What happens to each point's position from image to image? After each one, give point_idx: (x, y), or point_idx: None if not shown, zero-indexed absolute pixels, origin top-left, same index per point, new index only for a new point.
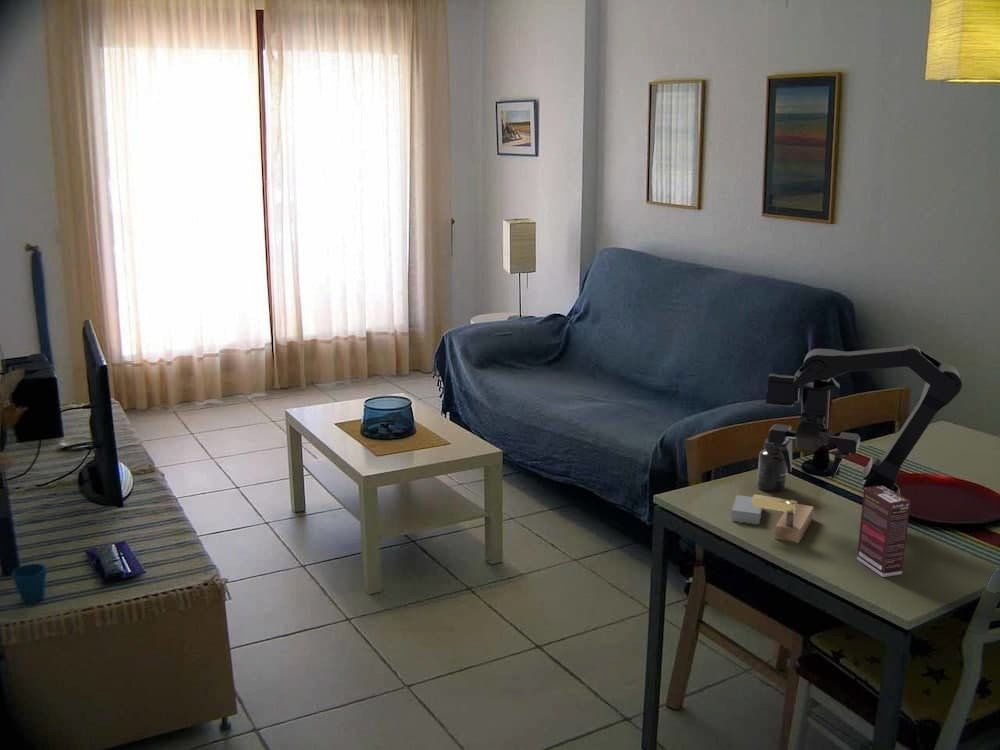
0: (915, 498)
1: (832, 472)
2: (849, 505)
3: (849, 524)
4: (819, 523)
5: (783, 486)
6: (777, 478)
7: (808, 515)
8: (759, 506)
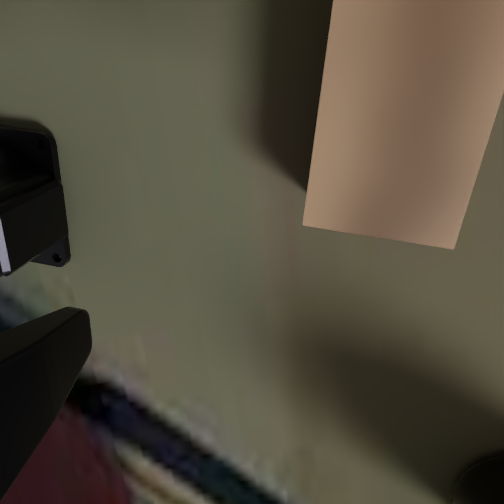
0: None
1: (30, 342)
2: (173, 385)
3: (134, 194)
4: (269, 155)
5: (469, 489)
6: None
7: (324, 64)
8: None
